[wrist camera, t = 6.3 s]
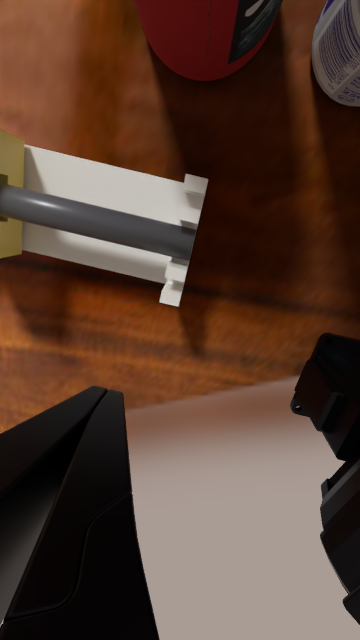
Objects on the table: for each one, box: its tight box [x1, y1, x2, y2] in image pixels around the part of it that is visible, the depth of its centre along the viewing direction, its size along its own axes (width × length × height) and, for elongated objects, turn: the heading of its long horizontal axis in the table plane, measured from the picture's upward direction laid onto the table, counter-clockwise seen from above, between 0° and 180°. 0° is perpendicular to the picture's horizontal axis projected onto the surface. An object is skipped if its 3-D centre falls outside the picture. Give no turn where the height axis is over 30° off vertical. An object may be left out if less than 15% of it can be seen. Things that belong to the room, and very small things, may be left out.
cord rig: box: [0, 145, 208, 306], centre depth 15 cm, size 16×6×5 cm, turn 77°
